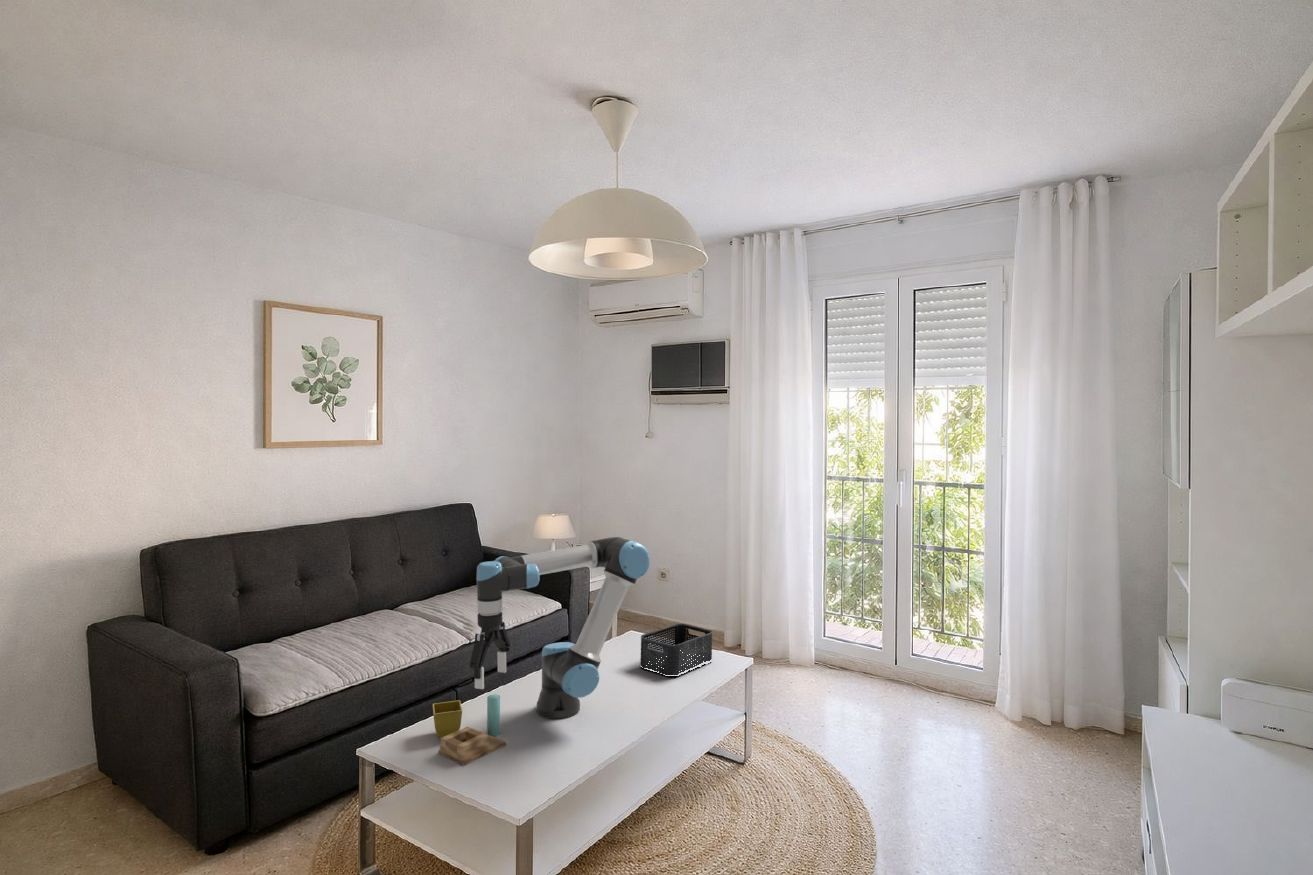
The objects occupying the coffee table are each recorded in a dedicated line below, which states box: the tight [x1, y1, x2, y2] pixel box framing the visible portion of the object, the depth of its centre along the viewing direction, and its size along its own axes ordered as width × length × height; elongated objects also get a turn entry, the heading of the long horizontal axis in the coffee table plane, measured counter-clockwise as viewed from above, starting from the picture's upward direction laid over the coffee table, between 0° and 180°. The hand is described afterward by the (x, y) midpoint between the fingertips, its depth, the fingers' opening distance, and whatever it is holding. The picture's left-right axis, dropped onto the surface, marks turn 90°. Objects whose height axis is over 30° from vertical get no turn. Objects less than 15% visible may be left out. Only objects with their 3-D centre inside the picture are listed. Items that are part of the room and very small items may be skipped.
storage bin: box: [639, 623, 713, 675], centre depth 287 cm, size 29×19×13 cm
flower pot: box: [432, 700, 463, 739], centre depth 220 cm, size 9×9×9 cm
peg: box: [486, 693, 501, 737], centre depth 221 cm, size 4×4×12 cm
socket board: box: [437, 726, 507, 766], centre depth 210 cm, size 16×12×5 cm
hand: (491, 679), depth 213 cm, fingers open, 13 cm apart
